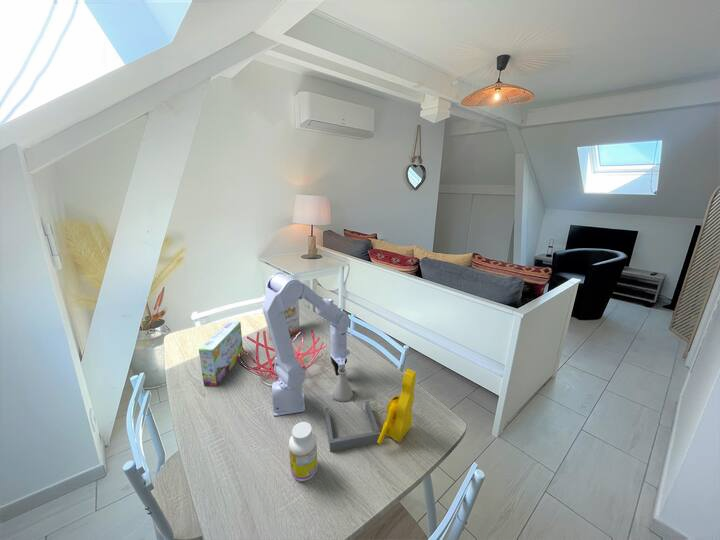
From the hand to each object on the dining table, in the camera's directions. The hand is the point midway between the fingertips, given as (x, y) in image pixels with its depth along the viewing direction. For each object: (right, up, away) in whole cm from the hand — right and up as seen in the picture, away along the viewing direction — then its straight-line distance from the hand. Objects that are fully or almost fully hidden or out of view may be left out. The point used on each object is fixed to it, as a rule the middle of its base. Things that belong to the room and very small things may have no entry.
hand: (338, 374), depth 104 cm
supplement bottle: (-6, -12, -33) cm, 36 cm away
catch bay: (+5, -8, -20) cm, 23 cm away
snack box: (-44, 0, +6) cm, 45 cm away
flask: (+2, -5, -7) cm, 9 cm away
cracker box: (-28, +7, +30) cm, 42 cm away
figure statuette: (+19, -9, -22) cm, 30 cm away
